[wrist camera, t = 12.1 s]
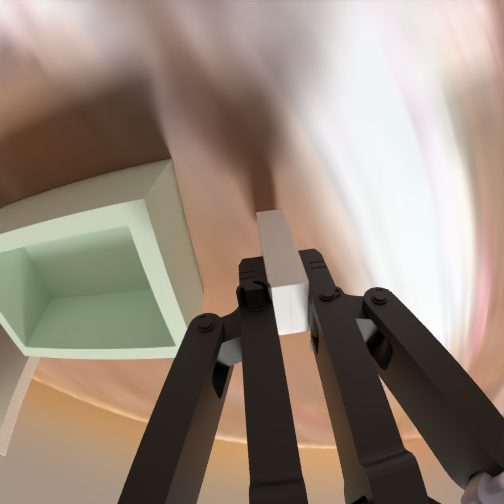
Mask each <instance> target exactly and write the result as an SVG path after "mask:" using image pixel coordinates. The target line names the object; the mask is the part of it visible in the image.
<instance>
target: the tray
mask: <svg viewBox="0 0 504 504" xmlns="http://www.w3.org/2000/svg"><path fill="white" fill-rule="evenodd" d="M203 293H204V288H203V284H202V281H201V277H200V273H199V270H198V266H197V262H196V258H195V254H194V251H193V247H192V243H191V239H190V235H189V231H188V227H187V223H186V219H185V214H184V210H183V206H182V202H181V197H180V193H179V189H178V184H177V180H176V175H175V171H174V166H173V161H172V158H171V159H166V160H161V161H156V162H152V163H147V164H143V165H138V166H134V167H130V168H125V169H121V170H117V171H113V172H109V173H105V174H102V175H98V176H94V177H91V178H87V179H83V180H80V181H77V182H73V183H70V184H67V185H63V186H60V187H57V188H54V189H51V190H48V191H45V192H42V193H39V194H36V195H33V196H30V197H27V198H24V199H22V200H19V201H16V202H13V203H11V204H8V205H6V206H4V207H3V208H1V209H0V323H1V325H2V326H3V328H4V329H5V330H6V332H7V333H8V335H9V336H10V337H11V339H12V340H13V341H14V343H15V344H16V345H17V346H18V348H19V349H20V350H21V352H22V353H23V354H24V355H25V356H36V357H51V358H71V359H153V358H175V356H176V354H177V352H178V349H179V347H180V345H181V342H182V340H183V338H184V335H185V333H186V331H187V328H188V326H189V324H190V322H191V321H192V319H194V318H195V317H196V316H198V315H201V314H202V303H203Z"/></svg>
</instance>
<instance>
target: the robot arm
mask: <svg viewBox="0 0 504 504" xmlns="http://www.w3.org/2000/svg"><path fill="white" fill-rule="evenodd" d="M256 216H257V225H258V233H259V241H260V249H261V257H254V258H246V259H242V261H241V263H240V264H239V283H240V285H239V286H238V287H237V290H236V294H237V299H238V304H239V307H238V308H237V309H236V310H235V311H234V312H232V313H231V314H229V315H226V316H224V317H221V318H220V317H219V316H218V315H216V314H213V313H204V314H201V315H198V316H196V317H195V318H194V319H192V321H191V322H190V324H189V326H188V328H187V331H186V333H185V335H184V338H183V340H182V342H181V345H180V347H179V349H178V352H177V354H176V356H175V359H174V361H173V364H172V366H171V368H170V371H169V373H168V376H167V378H166V380H165V383H164V385H163V388H162V390H161V393H160V395H159V397H158V400H157V402H156V405H155V407H154V410H153V412H152V415H151V417H150V420H149V422H148V425H147V427H146V430H145V433H144V435H143V438H142V440H141V443H140V445H139V448H138V450H137V453H136V456H135V458H134V461H133V463H132V466H131V469H130V471H129V474H128V477H127V480H126V482H125V485H124V488H123V490H122V493H121V495H120V498H119V501H118V504H196V503H197V500H198V496H199V492H200V489H201V485H202V482H203V478H204V475H205V471H206V467H207V463H208V460H209V456H210V453H211V449H212V446H213V441H214V438H215V435H216V431H217V427H218V423H219V420H220V416H221V412H222V409H223V405H224V401H225V397H226V394H227V390H228V386H229V382H230V379H231V375H232V371H233V367H234V364H236V363H239V362H241V361H242V367H243V383H244V399H245V415H246V429H247V444H248V457H249V470H250V486H249V504H308V500H307V493H306V488H305V483H304V479H303V476H302V471H301V464H300V458H299V452H298V446H297V440H296V433H295V427H294V421H293V415H292V409H291V404H290V398H289V392H288V386H287V380H286V374H285V368H284V363H283V357H282V351H281V345H280V340H279V335H284V334H291V333H298V332H304V331H309V327H310V330H311V343H310V351H314V355H315V359H316V362H317V366H318V370H319V374H320V378H321V382H322V386H323V390H324V395H325V399H326V403H327V407H328V411H329V415H330V420H331V424H332V428H333V432H334V437H335V441H336V446H337V450H338V455H339V459H340V464H341V468H342V473H343V478H344V495H345V502H346V504H441V503H439V502H437V501H435V500H434V499H432V498H430V497H428V496H427V492H426V489H425V485H424V482H423V479H422V475H421V472H420V469H419V466H418V463H417V460H416V458H415V456H414V455H413V454H412V453H411V452H409V451H407V450H406V449H405V448H404V446H403V443H402V440H401V437H400V434H399V431H398V428H397V425H396V422H395V419H394V416H393V413H392V411H391V408H390V405H389V402H388V400H387V397H386V394H385V391H384V389H383V386H382V383H381V381H380V378H379V376H380V377H381V379H382V380H383V382H384V383H385V384H386V386H387V387H388V389H389V390H390V391H391V393H392V394H393V396H394V397H395V398H396V400H397V401H398V403H399V404H400V405H401V407H402V408H403V410H404V411H405V413H406V414H407V415H408V417H409V418H410V420H411V421H412V423H413V424H414V425H415V427H416V428H417V430H418V431H419V433H420V434H421V436H422V437H423V438H424V440H425V441H426V443H427V444H428V446H429V447H430V449H431V450H432V452H433V453H434V455H435V456H436V458H437V459H438V460H439V462H440V463H441V465H442V466H443V468H444V469H445V471H446V472H447V473H448V475H449V476H450V477H451V479H452V480H453V481H455V483H456V484H457V485H459V486H460V487H461V488H462V489H464V490H465V491H464V494H463V495H462V498H461V503H462V504H504V418H503V416H502V415H501V414H500V412H499V411H498V410H497V409H496V407H495V406H494V405H493V404H492V402H491V401H490V400H489V399H488V397H487V396H486V395H485V394H484V393H483V391H482V390H481V389H480V388H479V387H478V385H477V384H476V383H475V382H474V381H473V379H472V378H471V377H470V376H469V375H468V374H467V372H466V371H465V370H464V369H463V368H462V367H461V365H460V364H459V363H458V362H457V361H456V360H455V359H454V358H453V356H452V355H451V354H450V353H449V352H448V351H447V350H446V349H445V348H444V346H443V345H442V344H441V343H440V342H439V341H438V340H437V339H436V338H435V337H434V336H433V334H432V333H431V332H430V331H429V330H428V329H427V328H426V327H425V326H424V325H423V324H422V323H421V322H420V321H419V320H418V319H417V318H416V316H415V315H414V314H413V313H412V312H411V311H410V310H409V309H408V308H407V307H406V306H405V305H404V304H403V303H402V302H401V301H400V300H399V299H398V298H397V297H396V296H395V295H394V294H393V293H392V292H390V291H389V290H388V289H385V288H380V287H375V288H370V289H369V290H367V291H366V292H365V294H364V296H352V295H347V294H344V292H343V291H342V289H341V288H339V287H337V286H335V283H334V281H333V279H332V276H331V274H330V272H329V270H328V268H327V265H326V263H325V262H324V259H323V257H322V254H321V253H320V252H318V251H317V250H316V249H307V250H300V251H298V249H297V247H296V244H295V241H294V238H293V236H292V233H291V230H290V227H289V225H288V222H287V219H286V217H285V214H284V211H283V209H278V210H270V211H262V212H256ZM378 375H379V376H378Z"/></svg>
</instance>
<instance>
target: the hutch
mask: <svg viewBox="0 0 504 504" xmlns="http://www.w3.org/2000/svg"><path fill="white" fill-rule="evenodd" d="M40 358H41V357H36V356H25V355H24V354H23V353H22V352H21V350H20V349H19V348H18V346H17V345H16V344H15V343H14V341H13V340H12V339H11V337H10V336H9V335H8V333H7V332H6V330H5V329H4V328H3V326H2V325H1V323H0V454H1V455H3V456H6V452H7V448H8V445H9V441H10V438H11V435H12V431H13V428H14V425H15V422H16V419H17V416H18V413H19V410H20V408H21V405H22V402H23V399H24V396H25V394H26V391H27V389H28V386H29V384H30V381H31V379H32V376H33V374H34V372H35V369H36V367H37V365H38V362H39V360H40Z"/></svg>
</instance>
